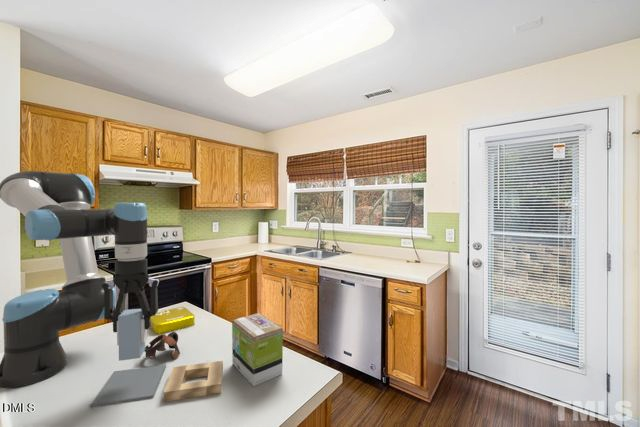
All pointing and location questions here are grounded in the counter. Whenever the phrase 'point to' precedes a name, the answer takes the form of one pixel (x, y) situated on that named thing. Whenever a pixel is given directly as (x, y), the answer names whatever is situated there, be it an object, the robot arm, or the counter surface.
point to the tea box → (257, 348)
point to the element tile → (171, 320)
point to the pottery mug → (163, 345)
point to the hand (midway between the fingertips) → (132, 341)
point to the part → (130, 334)
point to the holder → (194, 389)
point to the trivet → (130, 385)
